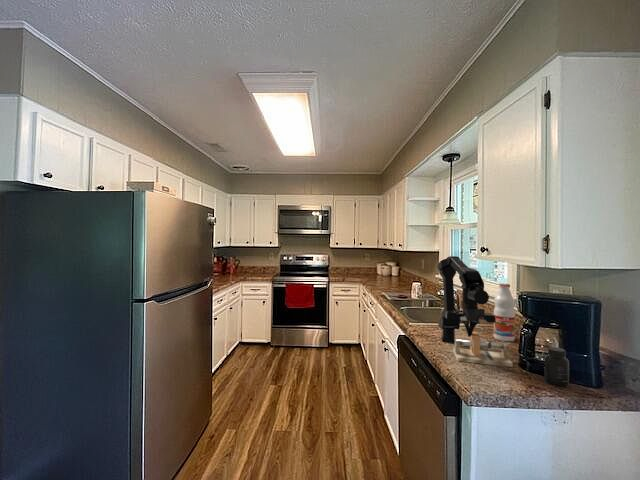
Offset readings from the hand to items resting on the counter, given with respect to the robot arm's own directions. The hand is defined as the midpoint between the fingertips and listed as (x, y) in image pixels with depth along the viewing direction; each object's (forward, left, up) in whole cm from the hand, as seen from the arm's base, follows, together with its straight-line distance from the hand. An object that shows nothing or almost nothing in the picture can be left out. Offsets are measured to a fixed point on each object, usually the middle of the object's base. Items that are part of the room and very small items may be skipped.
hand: (469, 336), depth 132 cm
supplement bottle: (+18, +25, -9) cm, 32 cm away
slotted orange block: (0, +2, -6) cm, 7 cm away
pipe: (0, +5, -4) cm, 6 cm away
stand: (0, +5, -9) cm, 10 cm away
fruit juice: (-34, +23, -9) cm, 42 cm away
